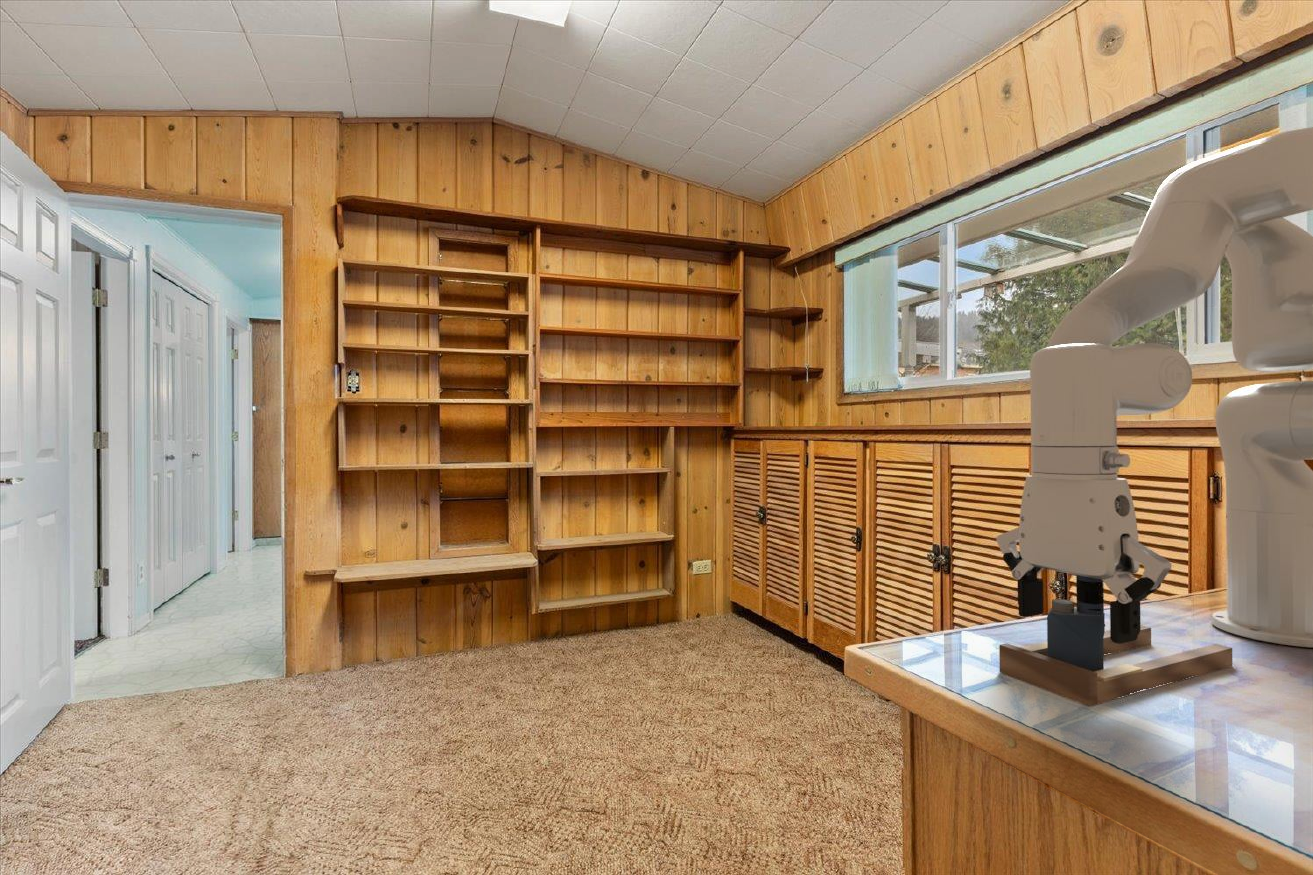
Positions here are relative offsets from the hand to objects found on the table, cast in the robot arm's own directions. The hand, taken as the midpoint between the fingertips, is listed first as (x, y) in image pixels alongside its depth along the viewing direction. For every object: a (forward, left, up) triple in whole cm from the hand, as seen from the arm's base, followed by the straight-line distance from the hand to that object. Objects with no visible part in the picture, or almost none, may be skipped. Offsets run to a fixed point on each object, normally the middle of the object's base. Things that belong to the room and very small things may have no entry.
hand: (1074, 627), depth 66 cm
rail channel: (-7, 0, -6) cm, 9 cm away
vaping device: (0, 0, -6) cm, 6 cm away
